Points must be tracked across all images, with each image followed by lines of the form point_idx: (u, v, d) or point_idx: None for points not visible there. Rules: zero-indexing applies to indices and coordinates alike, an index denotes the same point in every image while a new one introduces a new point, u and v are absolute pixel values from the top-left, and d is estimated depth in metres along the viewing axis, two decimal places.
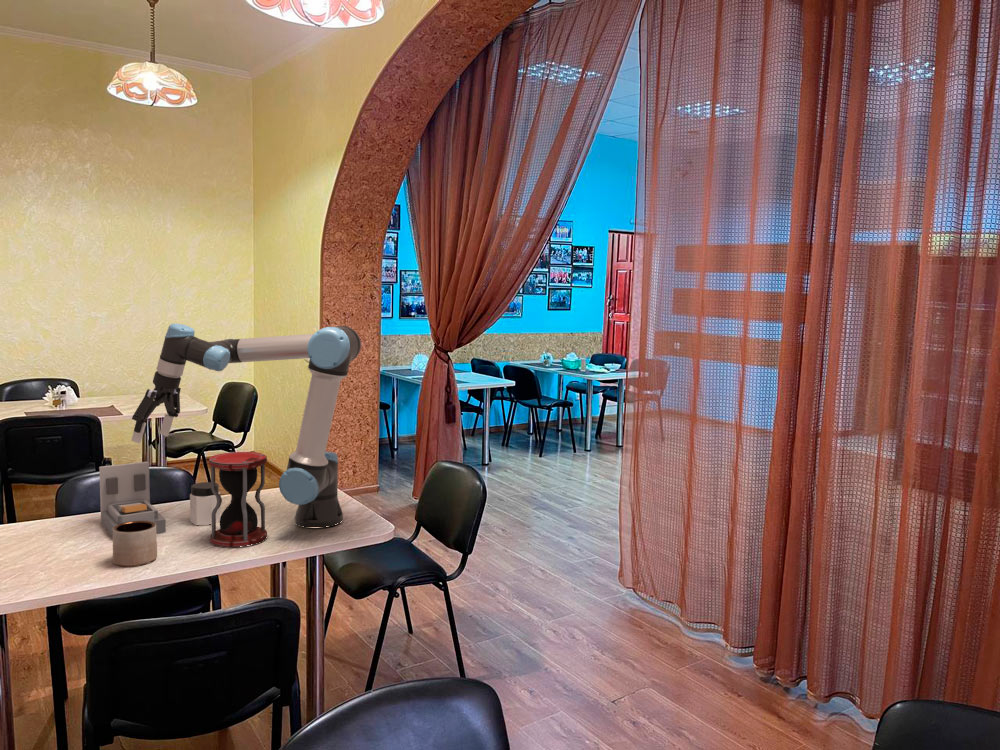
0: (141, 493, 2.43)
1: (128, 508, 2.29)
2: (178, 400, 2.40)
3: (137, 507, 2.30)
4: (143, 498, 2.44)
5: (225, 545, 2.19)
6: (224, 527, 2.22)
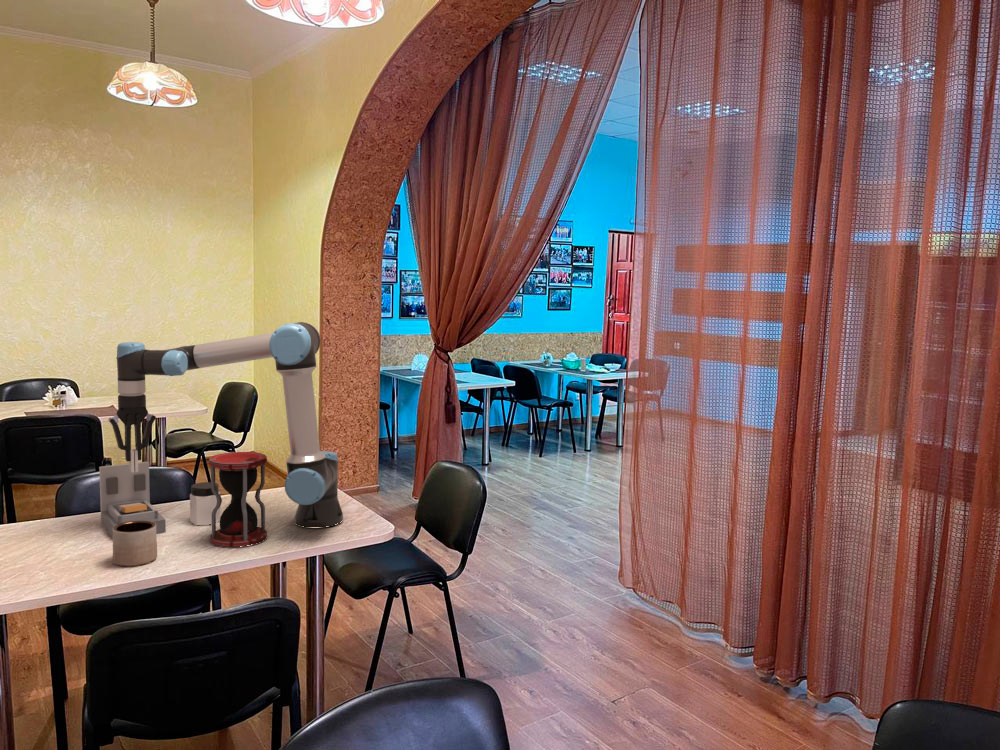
0: (141, 493, 2.43)
1: (128, 508, 2.29)
2: (149, 430, 2.30)
3: (137, 507, 2.30)
4: (143, 498, 2.44)
5: (225, 545, 2.19)
6: (224, 527, 2.22)
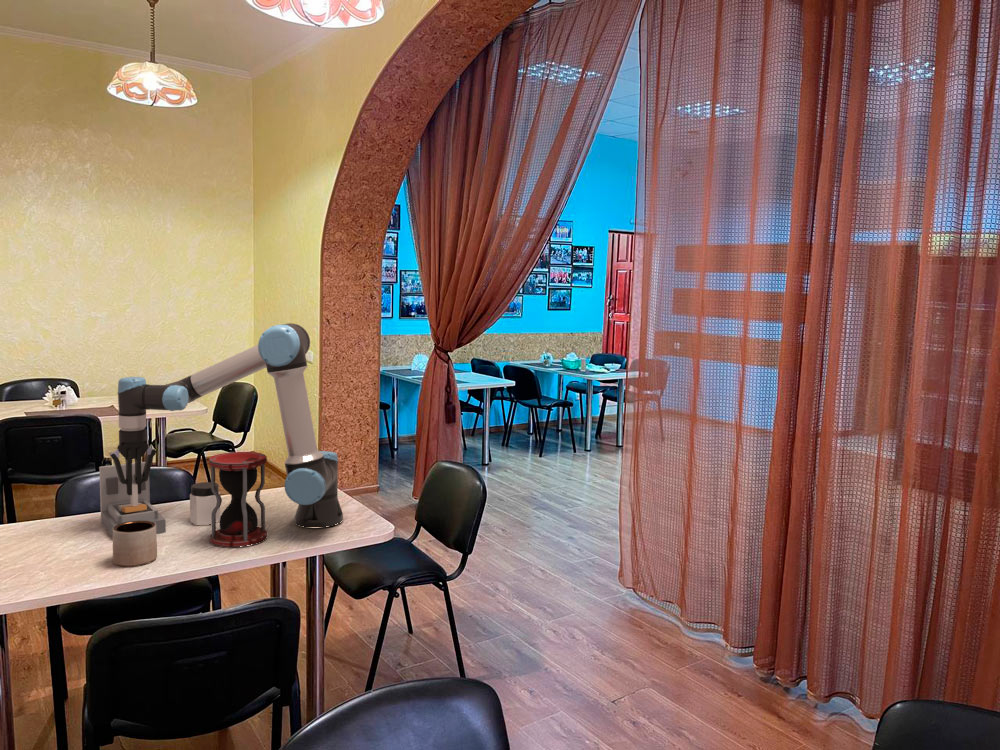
0: (141, 493, 2.43)
1: (128, 508, 2.29)
2: (149, 464, 2.32)
3: (137, 507, 2.30)
4: (143, 498, 2.44)
5: (225, 545, 2.19)
6: (224, 527, 2.22)
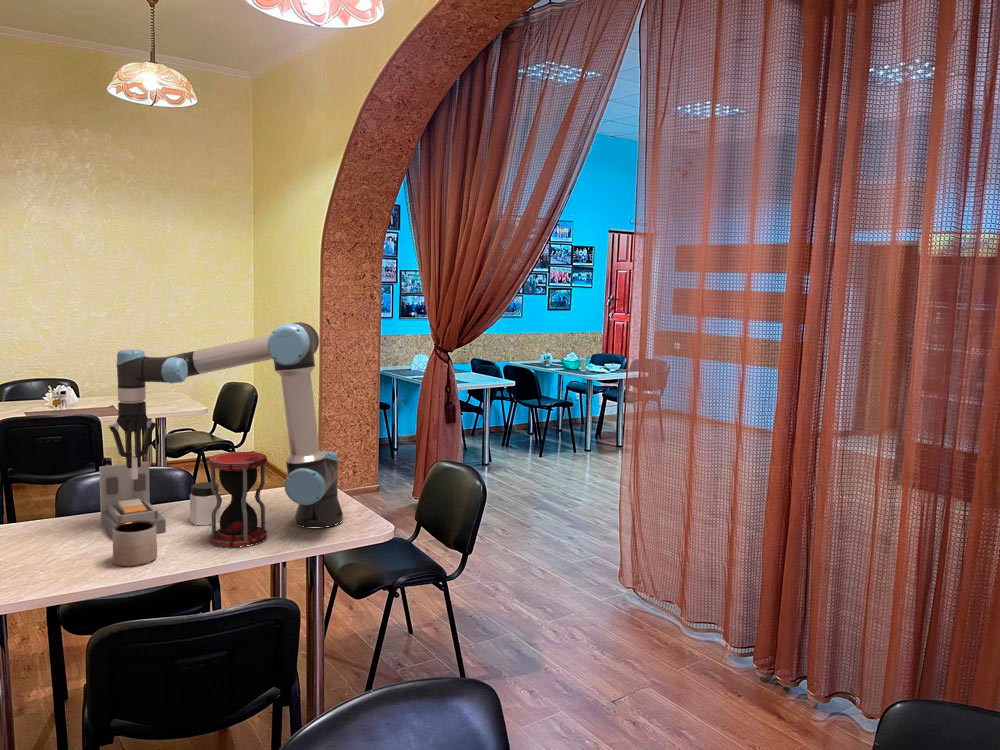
0: (141, 493, 2.43)
1: (128, 513, 2.29)
2: (148, 437, 2.31)
3: (137, 512, 2.30)
4: (143, 498, 2.44)
5: (225, 545, 2.19)
6: (224, 527, 2.22)
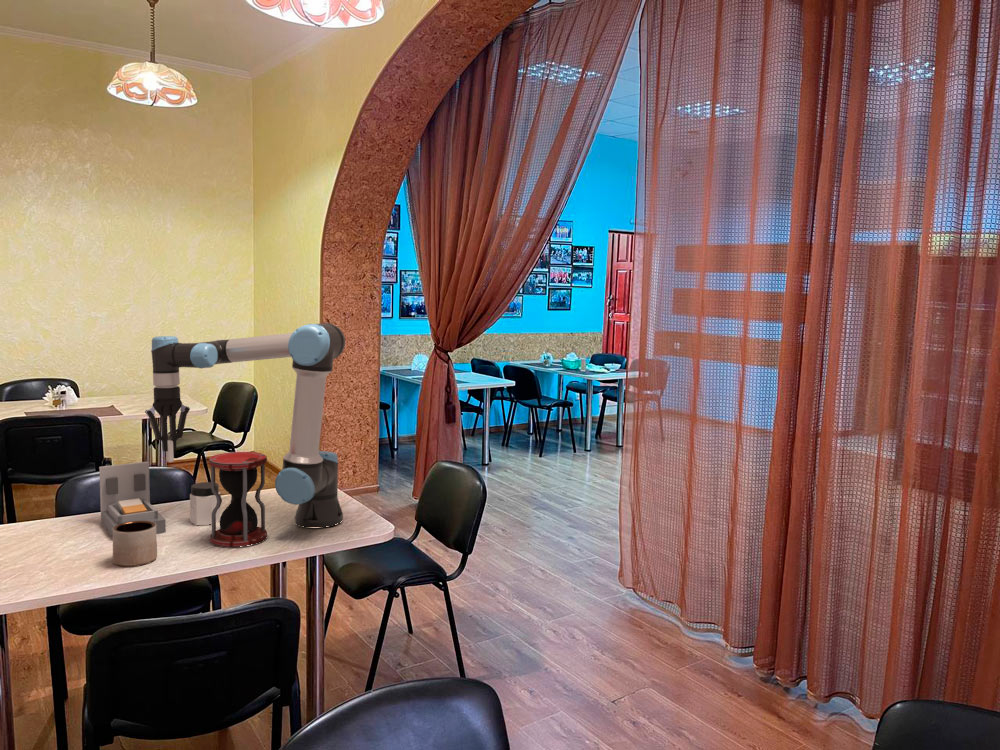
0: (141, 493, 2.43)
1: (128, 513, 2.29)
2: (183, 420, 2.38)
3: (137, 512, 2.30)
4: (143, 498, 2.44)
5: (225, 545, 2.19)
6: (224, 527, 2.22)
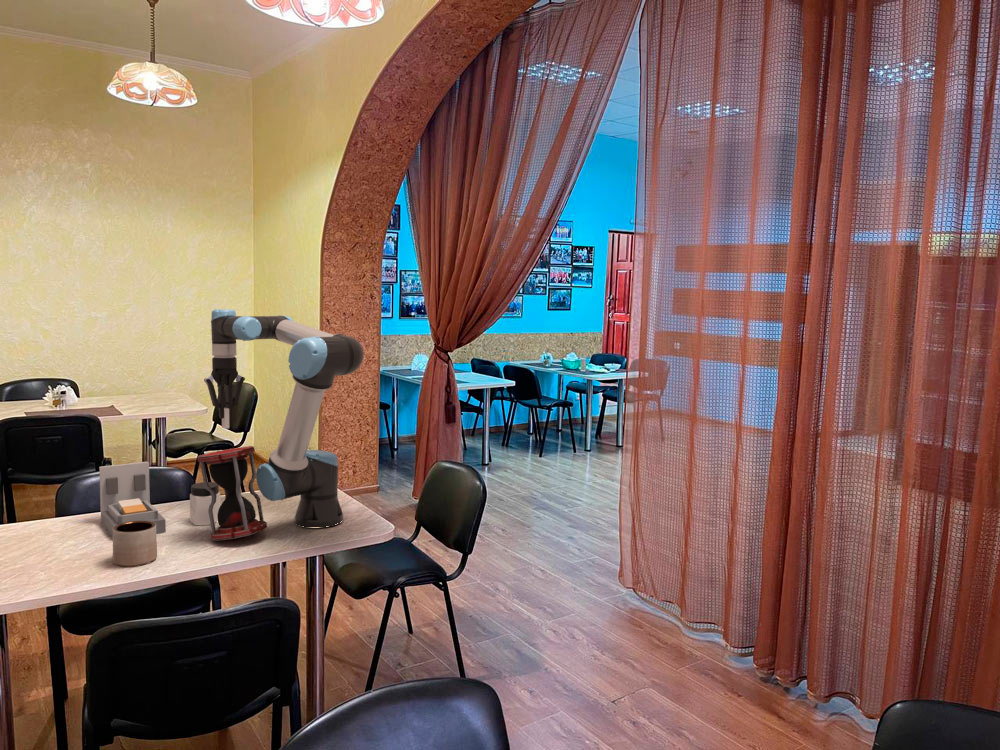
0: (141, 493, 2.43)
1: (128, 513, 2.29)
2: (238, 389, 2.52)
3: (137, 512, 2.30)
4: (143, 498, 2.44)
5: (227, 537, 2.19)
6: (223, 521, 2.22)
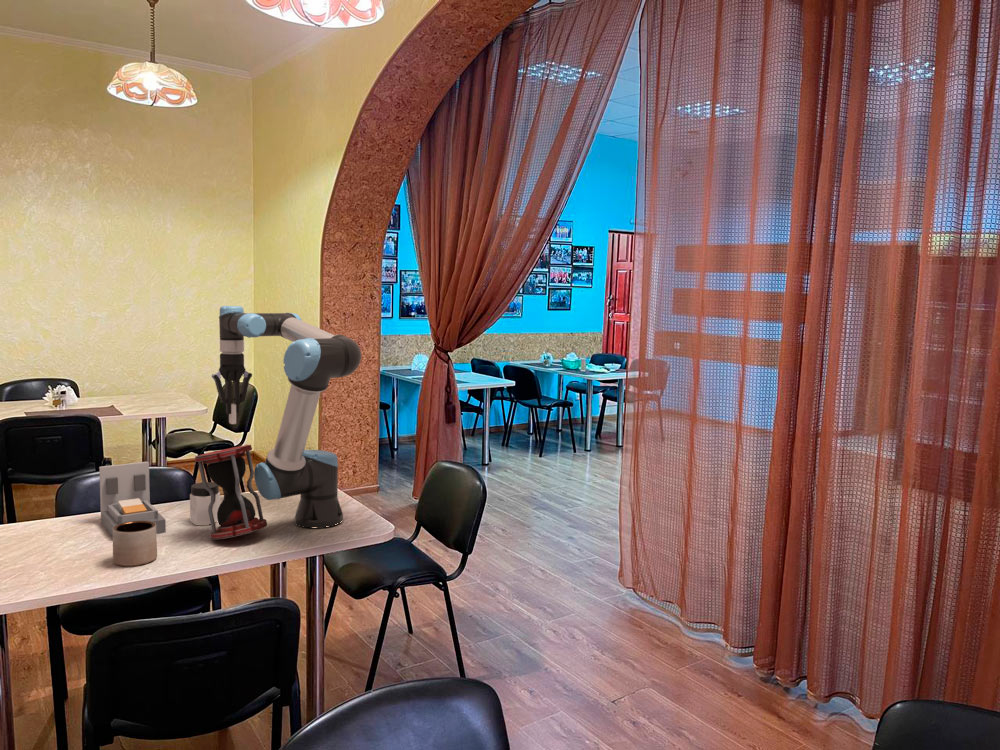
0: (141, 493, 2.43)
1: (128, 513, 2.29)
2: (246, 386, 2.54)
3: (137, 512, 2.30)
4: (143, 498, 2.44)
5: (228, 535, 2.19)
6: (223, 520, 2.23)
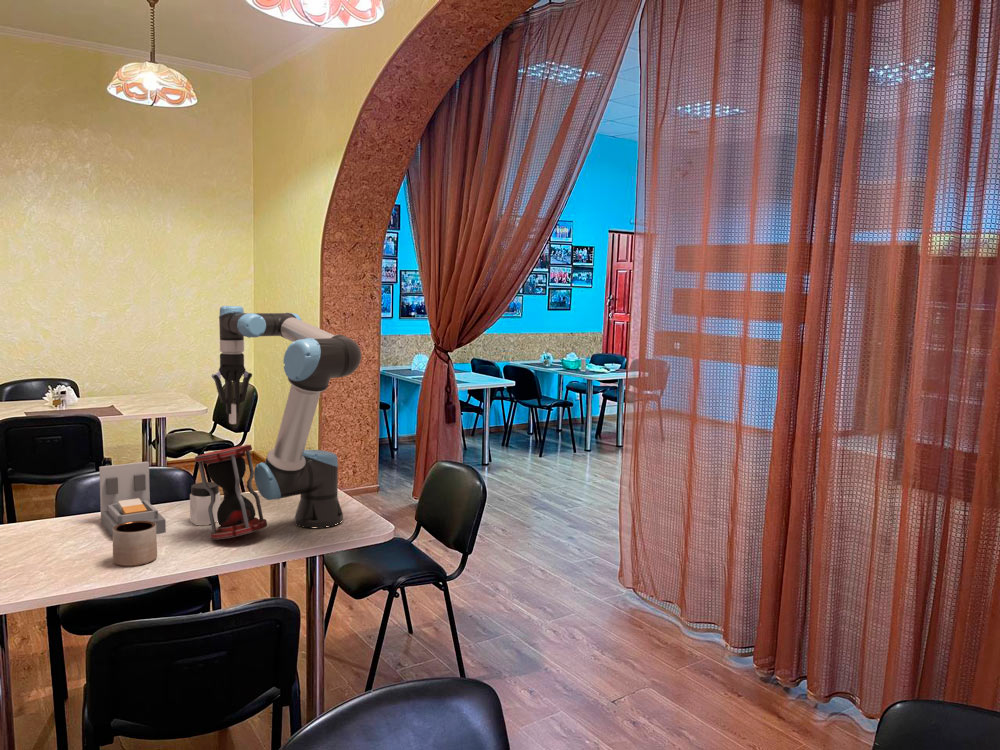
0: (141, 493, 2.43)
1: (128, 513, 2.29)
2: (246, 386, 2.54)
3: (137, 512, 2.30)
4: (143, 498, 2.44)
5: (228, 535, 2.19)
6: (223, 520, 2.23)
